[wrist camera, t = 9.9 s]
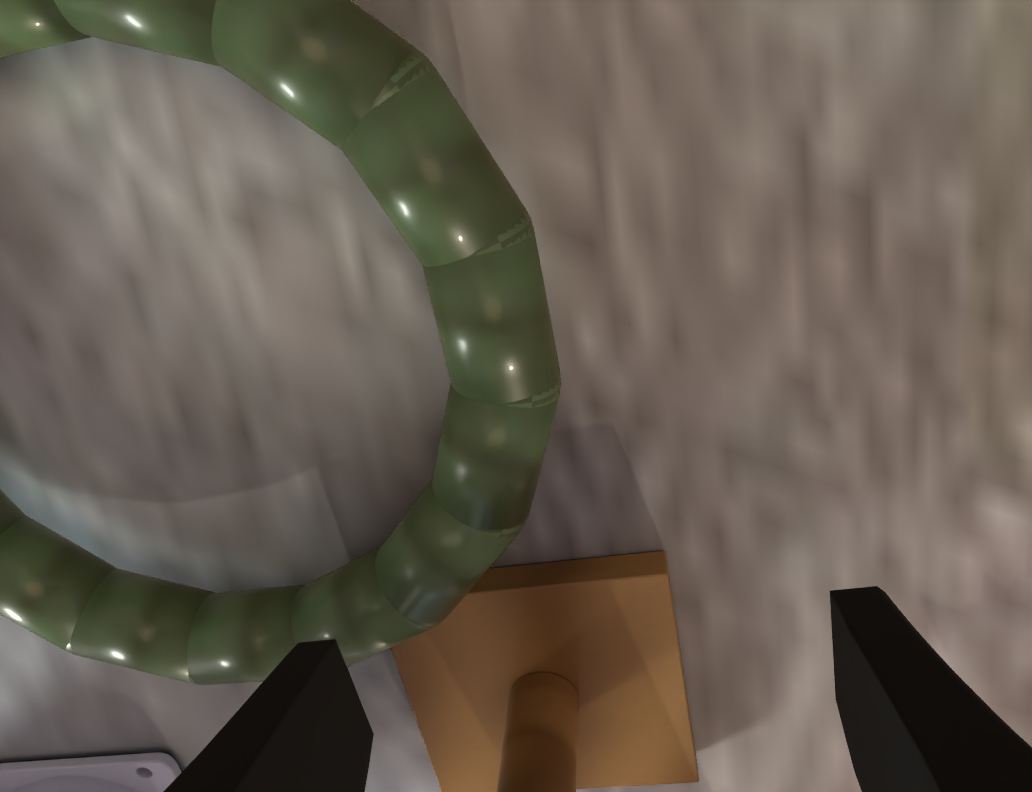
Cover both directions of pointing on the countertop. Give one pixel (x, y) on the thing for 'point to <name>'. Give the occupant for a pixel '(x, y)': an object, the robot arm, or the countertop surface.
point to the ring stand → (555, 680)
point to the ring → (459, 316)
